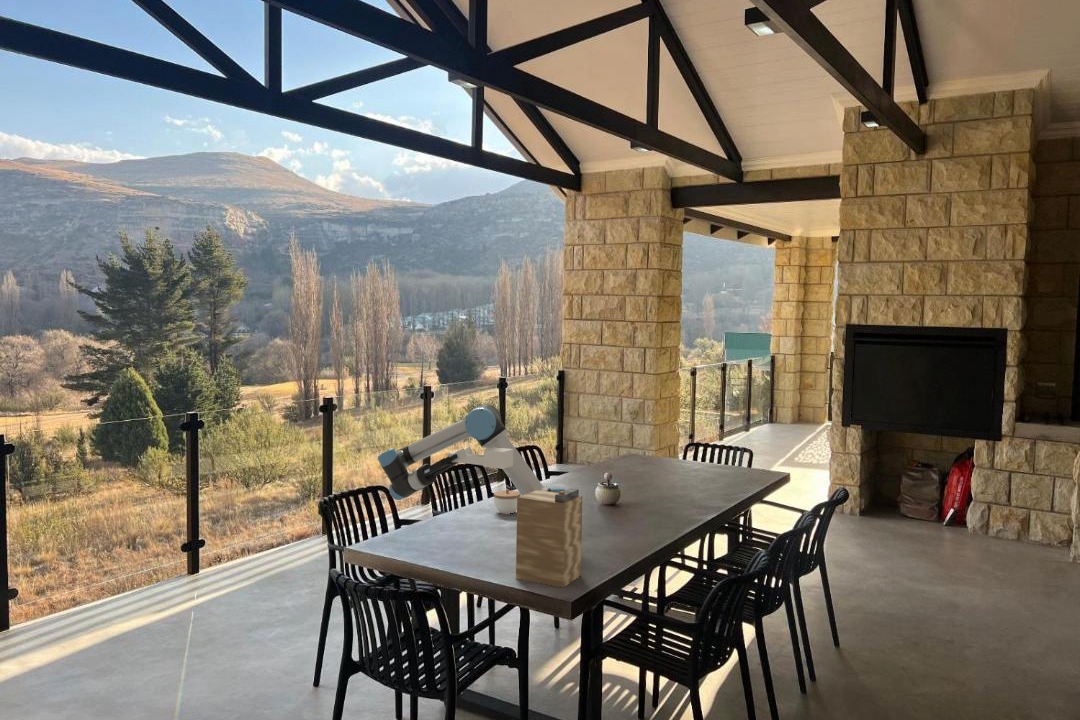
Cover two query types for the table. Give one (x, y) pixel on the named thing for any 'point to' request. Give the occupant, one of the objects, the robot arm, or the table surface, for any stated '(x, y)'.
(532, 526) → the cabinet
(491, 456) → the white long stepped block
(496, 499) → the lidded bowl
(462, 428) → the robot arm
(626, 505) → the table surface
